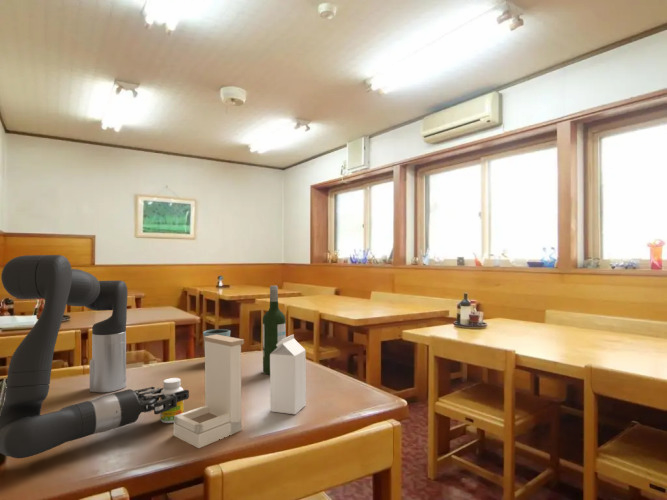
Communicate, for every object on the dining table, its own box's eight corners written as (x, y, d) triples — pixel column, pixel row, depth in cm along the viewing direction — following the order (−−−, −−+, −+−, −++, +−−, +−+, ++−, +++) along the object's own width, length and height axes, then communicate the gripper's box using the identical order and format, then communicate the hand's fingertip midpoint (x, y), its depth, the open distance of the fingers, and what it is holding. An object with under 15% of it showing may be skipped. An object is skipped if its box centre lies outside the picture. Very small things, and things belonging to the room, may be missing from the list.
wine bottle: (266, 368, 149) (266, 285, 149) (288, 369, 148) (287, 285, 148) (260, 374, 141) (259, 286, 141) (282, 375, 140) (281, 286, 140)
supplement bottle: (161, 425, 99) (161, 384, 99) (159, 417, 104) (159, 378, 104) (185, 421, 102) (184, 381, 102) (182, 413, 106) (181, 375, 107)
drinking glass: (204, 367, 151) (204, 334, 151) (201, 360, 161) (201, 329, 161) (232, 364, 155) (232, 332, 155) (228, 358, 165) (228, 327, 165)
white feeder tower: (199, 448, 87) (199, 348, 87) (172, 435, 94) (172, 342, 94) (244, 430, 96) (244, 339, 96) (216, 418, 103) (216, 334, 103)
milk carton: (306, 405, 111) (305, 335, 112) (295, 415, 105) (294, 340, 105) (282, 402, 114) (281, 333, 114) (270, 412, 107) (269, 338, 107)
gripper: (126, 401, 87) (197, 381, 100) (98, 388, 96) (166, 371, 109) (126, 436, 87) (197, 412, 100) (98, 420, 96) (167, 400, 109)
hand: (181, 391), depth 105 cm, fingers closed on supplement bottle, 5 cm apart
